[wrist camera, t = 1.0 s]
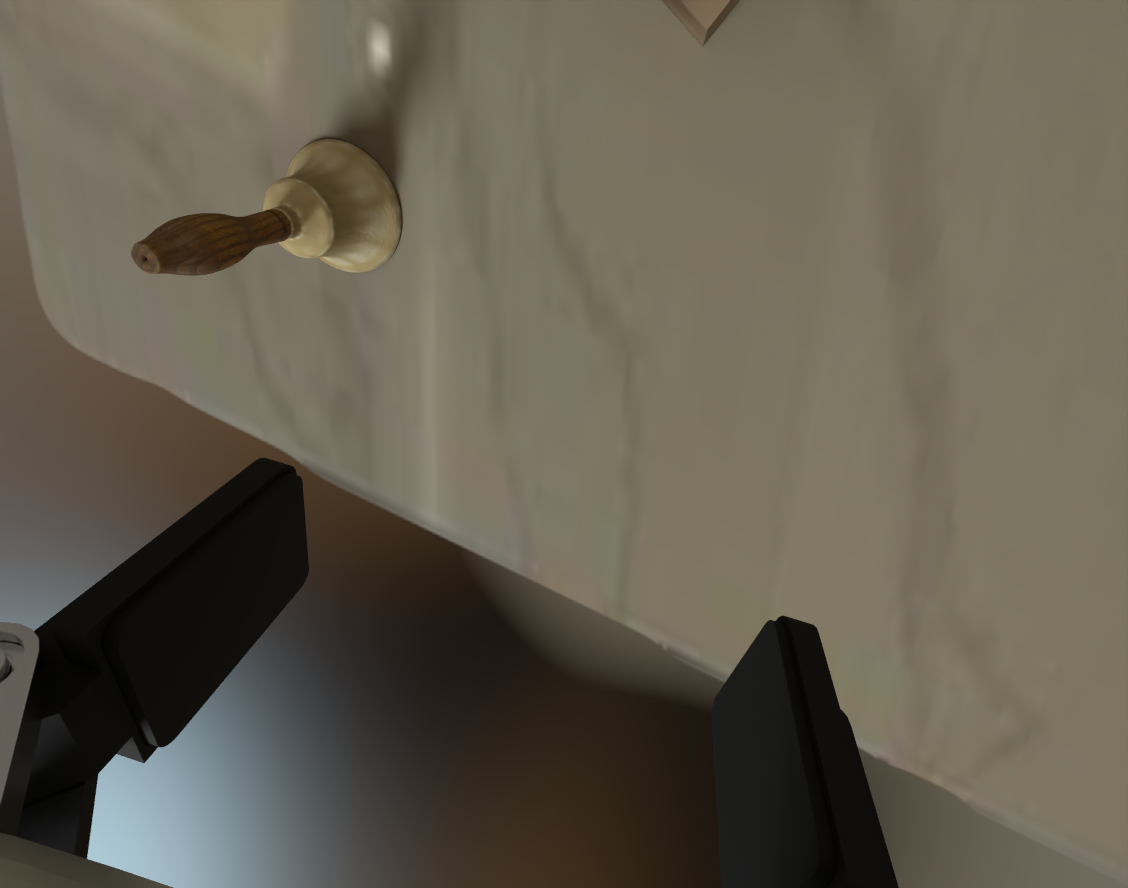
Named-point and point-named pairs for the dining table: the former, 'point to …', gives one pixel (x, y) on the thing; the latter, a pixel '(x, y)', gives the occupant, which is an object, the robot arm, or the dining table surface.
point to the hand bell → (292, 219)
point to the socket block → (701, 15)
